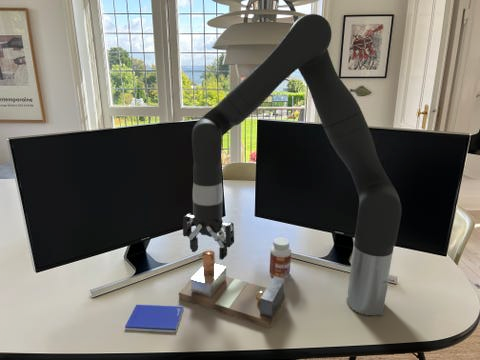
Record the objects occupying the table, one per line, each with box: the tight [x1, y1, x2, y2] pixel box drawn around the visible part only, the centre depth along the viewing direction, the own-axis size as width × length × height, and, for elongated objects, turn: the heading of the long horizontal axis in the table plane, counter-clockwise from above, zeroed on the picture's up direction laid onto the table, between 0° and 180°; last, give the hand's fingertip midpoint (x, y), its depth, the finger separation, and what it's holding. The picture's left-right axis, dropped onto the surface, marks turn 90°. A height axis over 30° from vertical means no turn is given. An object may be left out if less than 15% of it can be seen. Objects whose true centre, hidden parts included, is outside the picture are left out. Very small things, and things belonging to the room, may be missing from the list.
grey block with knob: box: [256, 276, 286, 319], centre depth 87 cm, size 6×10×5 cm, turn 156°
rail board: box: [178, 276, 286, 329], centre depth 92 cm, size 26×12×2 cm, turn 66°
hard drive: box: [124, 304, 185, 333], centre depth 85 cm, size 2×8×12 cm
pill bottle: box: [268, 237, 292, 279], centre depth 102 cm, size 6×6×11 cm
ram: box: [190, 249, 227, 297], centre depth 93 cm, size 6×9×10 cm, turn 156°
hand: (208, 254), depth 91 cm, fingers open, 8 cm apart
